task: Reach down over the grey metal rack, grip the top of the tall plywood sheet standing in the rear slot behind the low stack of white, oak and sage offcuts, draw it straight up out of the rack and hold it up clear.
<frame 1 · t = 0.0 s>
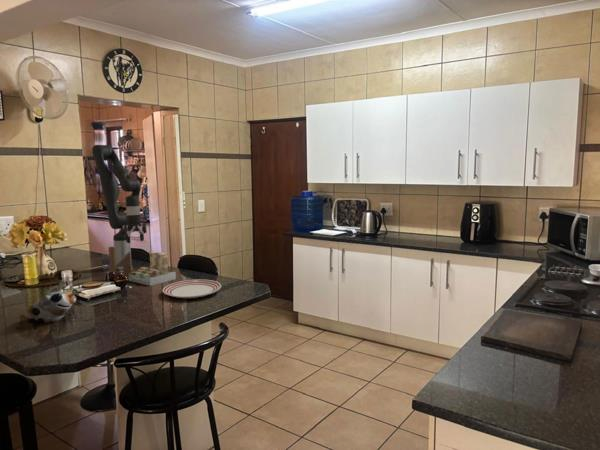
hand: (135, 241, 256), 17 cm above the counter, tool pointing down, fingers open, 8 cm apart
lucky cat figurine: (53, 318, 179), on the counter
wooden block: (120, 279, 240), on the counter
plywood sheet: (159, 278, 242), resting in rack
rack: (151, 279, 238), on the counter
offcut stack: (151, 279, 238), resting in rack
dinner plate: (192, 293, 213), on the counter
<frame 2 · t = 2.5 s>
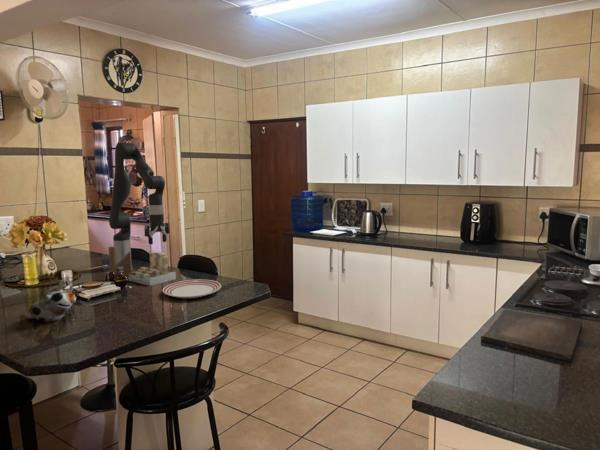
hand: (157, 243, 239), 19 cm above the counter, tool pointing down, fingers open, 8 cm apart
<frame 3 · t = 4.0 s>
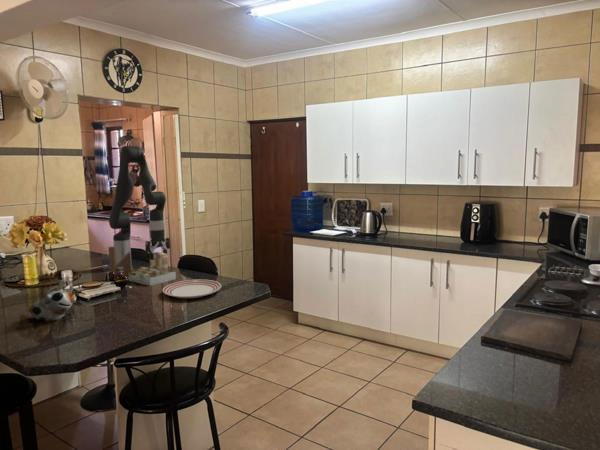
hand: (158, 258, 240), 11 cm above the counter, tool pointing down, fingers open, 8 cm apart
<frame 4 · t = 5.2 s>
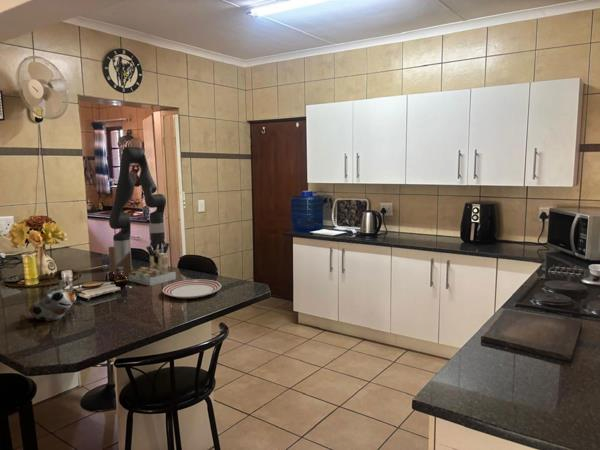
hand: (158, 262, 241), 9 cm above the counter, tool pointing down, fingers closed on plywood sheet, 2 cm apart
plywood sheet: (159, 278, 242), resting in rack, touching gripper
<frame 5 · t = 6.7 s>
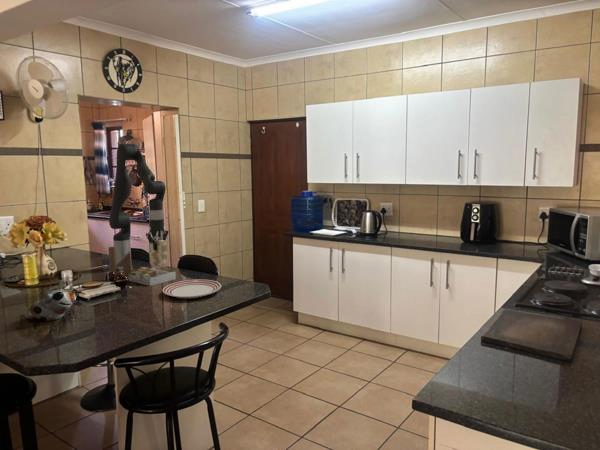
hand: (158, 249, 240), 16 cm above the counter, tool pointing down, fingers closed on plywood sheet, 2 cm apart
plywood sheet: (158, 265, 241), point 7 cm above the counter, touching gripper
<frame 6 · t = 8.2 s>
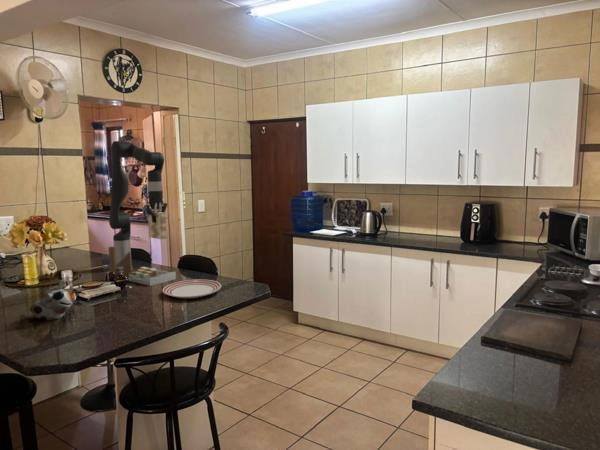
hand: (156, 222, 238), 31 cm above the counter, tool pointing down, fingers closed on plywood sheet, 2 cm apart
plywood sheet: (157, 238, 239), point 22 cm above the counter, touching gripper
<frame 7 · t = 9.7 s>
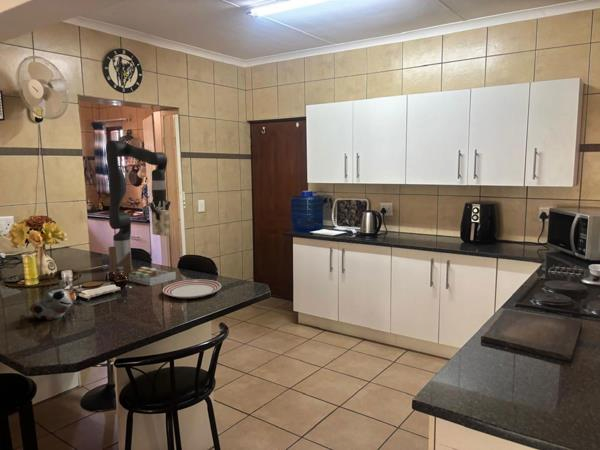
hand: (160, 219, 247), 31 cm above the counter, tool pointing down, fingers closed on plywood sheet, 2 cm apart
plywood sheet: (161, 234, 248), point 22 cm above the counter, touching gripper
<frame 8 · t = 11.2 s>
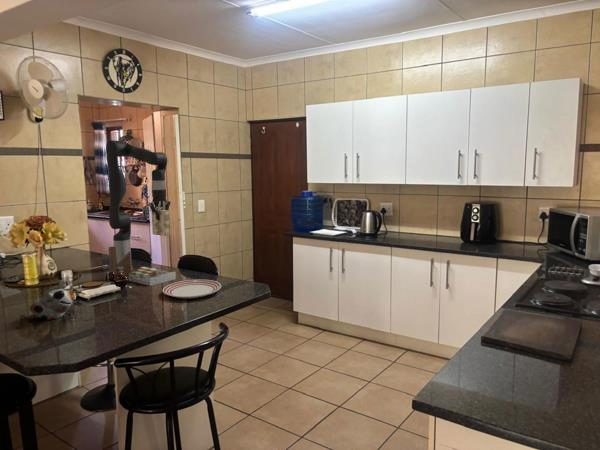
hand: (160, 219, 247), 31 cm above the counter, tool pointing down, fingers closed on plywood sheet, 2 cm apart
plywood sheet: (161, 234, 248), point 22 cm above the counter, touching gripper
at the end: the gripper is holding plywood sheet; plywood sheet point 22.4 cm above the counter; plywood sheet touching gripper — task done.
